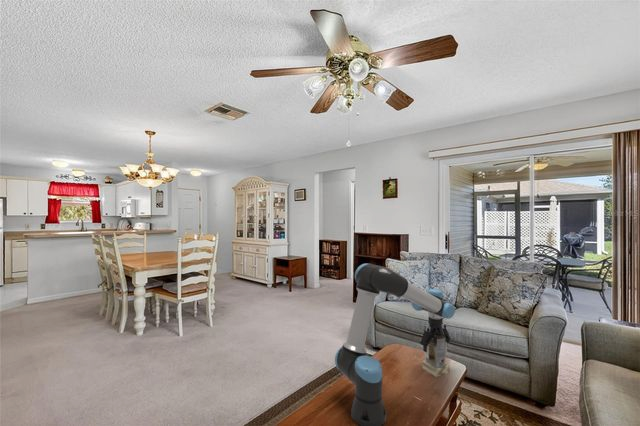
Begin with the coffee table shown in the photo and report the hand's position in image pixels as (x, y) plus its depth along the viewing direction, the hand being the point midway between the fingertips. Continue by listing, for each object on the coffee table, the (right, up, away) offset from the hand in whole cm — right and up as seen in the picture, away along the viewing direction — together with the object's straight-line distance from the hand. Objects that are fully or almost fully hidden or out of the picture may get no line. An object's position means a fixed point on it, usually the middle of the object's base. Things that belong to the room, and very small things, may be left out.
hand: (435, 355), depth 165 cm
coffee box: (0, -5, 0) cm, 5 cm away
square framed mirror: (0, -9, 0) cm, 9 cm away
